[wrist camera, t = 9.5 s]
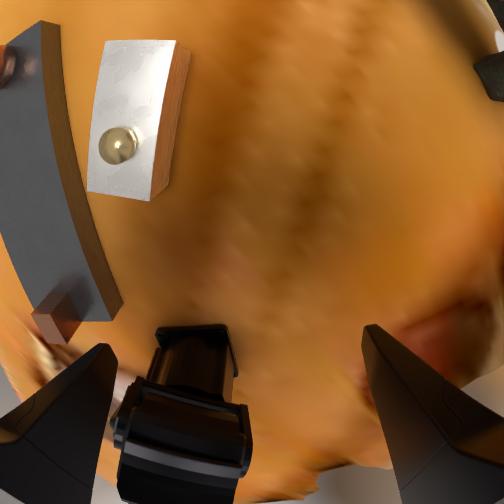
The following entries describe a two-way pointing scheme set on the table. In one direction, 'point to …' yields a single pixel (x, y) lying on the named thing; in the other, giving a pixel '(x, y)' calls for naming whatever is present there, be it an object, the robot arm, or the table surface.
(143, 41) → the brown and grey block
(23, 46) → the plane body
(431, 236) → the table surface
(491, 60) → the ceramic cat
